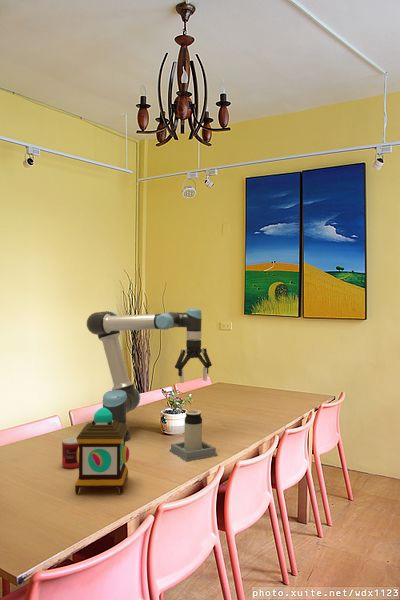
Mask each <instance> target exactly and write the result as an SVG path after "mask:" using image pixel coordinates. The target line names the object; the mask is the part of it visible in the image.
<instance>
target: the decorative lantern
mask: <svg viewBox="0 0 400 600" xmlns="http://www.w3.org/2000/svg"><path fill="white" fill-rule="evenodd" d="M127 428H128V429H129V427H128V425H127V426H126V425H125V424H123V423H118V422H116V420H114V419H113V418H112V413H111V412H110V411H109V410H108V409H107V408H103V407H100V408H99V409H98V410H96V411H95V413H94V415H93V421H91V422H88V423H87V424H85V426H84V427H83V428H82V429H81V431H80V432H79V434H78V435H77V436H76V437H75V438H76V440H77V442H78V444H79V447H78V449H77V452H76V460H77V462H78V463H79V467H78V478H77V480H76V483H75V485H74V487H75V488H74V492H75V494H76V495H79V494H80V491H81V488H117V489H118V493H119V495H122V494H123V492H124V485H125V481H126V479H127V478H128V475H129V470H128V466H127V464H126V463H128V462H129V459H130V449H129V447H128V446H127V445H126V441H125V433H126V431H127Z"/></svg>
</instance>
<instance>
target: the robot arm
mask: <svg viewBox="0 0 400 600" xmlns="http://www.w3.org/2000/svg"><path fill="white" fill-rule="evenodd" d="M202 320H203V318H202V309H200V308H187V309H186V312H178V311H177V312H174V311H169V312H164V313H148V314H147V313H146V314H145V313H144V314H124V315H123V314H122V315H118V314H117V313H115V312H113V311H107V310H106V311H98V312H94V313H91V314H90V315H89V316H88V317H87V319H86V328H87V329H88V331H89V332H90V333H91V334H93V335H96V336H97V337H98V340H99V341H101V342H102V346H103V350H104V354H105V357H106V359H107V360H106V361H107V365H108V369H109V373H110V376H111V380H112V385H113V387H112V389H111V390H108V391H106V392H105V393H104V394H103V397H102V408H107V409H108V410H109V411H110V412H111V413H112V418H113V419H114V420H116V422H118V423H123V424H125V425H126V426H127V427H128V425H127V414H128V413H129V412H131V411H134V410H135V409H136V408H137V407H138V406H139V405H140V401H141V395H140V392H139V390H138V389H137V388H135V386H134V385H135V383H134V382H132V381H130V378H129V377H130V376H129V374H128V370H127V366H126V362H125V358H124V355H123V350H122V347H121V346H122V345H121V342H120V339H119V337H120V335H121V332H120V331H143V330H146V331H147V330H169V329H174V328H185V329H186V339H187V340H186V341H185V343H186V349H181V350H180V354H179V356H178V358H177V360H176V363H175V366H174V368H175V369H177V371H178V377H179V383H181V384H184V383H185V382H184V379H185V378H184V377H185V376H184V374H185V372H184V371H185V370H184V367H185V366H186V364H188V362H189V361H190V360H191V359H198V360H199V362H200V363H201V364H202V365H203V367H202V380H203V381H205V382H207V381H208V374H209V369H210V367H212V365H213V364H212V362H211V360H210V357H209V355H208V351H207V348H205V347H204V348H201V347H202V340H201V339H202ZM201 353H202V354H201ZM130 439H131V434H130V431H129V427H128V428H127V431H126V433H125V442H126V441H128V440H130Z"/></svg>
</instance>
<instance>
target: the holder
mask: <svg viewBox="0 0 400 600" xmlns="http://www.w3.org/2000/svg"><path fill="white" fill-rule="evenodd" d="M216 449H217V448H216V446H215V447H214V446H213V445H211V444H208V443H207V442H205V441H203V440H202V449H201V450H195V451H189V452H188V451H186V450H184V441H181V442H180V441H179V442H176V443H171V444H170V448H169V452H170V453H171V454H173V455H175V456H176V455H177V456H176V457H177V458H179V457H180V458H179V459H181V460H183V461H184V460H185V462H192V460H193V461H197V459H198V460H203V459H206V458H207V457H208V458H213V457H212V456H214V457H218V452H217V450H216ZM202 458H203V459H202ZM208 458H207V459H208Z"/></svg>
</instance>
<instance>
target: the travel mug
mask: <svg viewBox="0 0 400 600" xmlns="http://www.w3.org/2000/svg"><path fill="white" fill-rule="evenodd" d="M184 412H185V417H184V441H183V442H184V450H186V451H188V452H189V451H195V450H201V449H202V441H203V418H202V411H201V410H198V409H189V410H188V409H187V410H186V411H184Z"/></svg>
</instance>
